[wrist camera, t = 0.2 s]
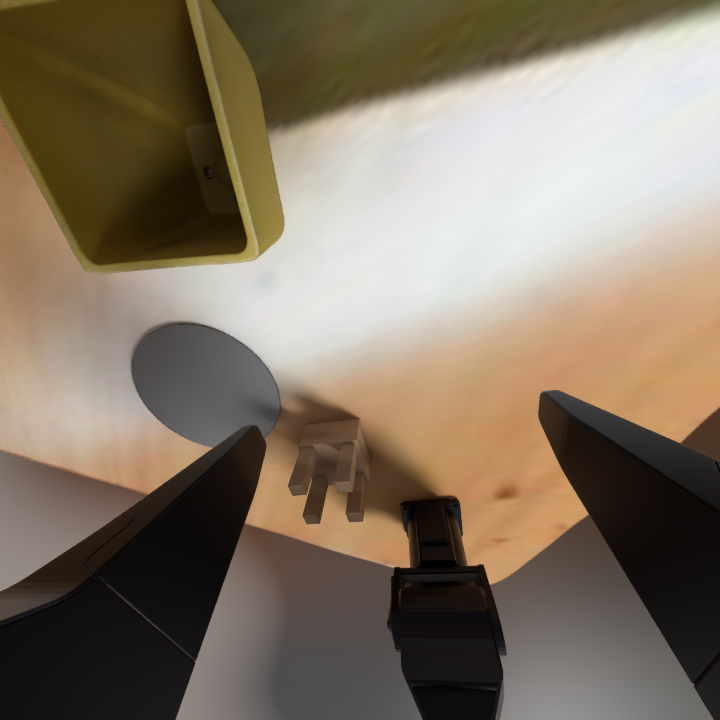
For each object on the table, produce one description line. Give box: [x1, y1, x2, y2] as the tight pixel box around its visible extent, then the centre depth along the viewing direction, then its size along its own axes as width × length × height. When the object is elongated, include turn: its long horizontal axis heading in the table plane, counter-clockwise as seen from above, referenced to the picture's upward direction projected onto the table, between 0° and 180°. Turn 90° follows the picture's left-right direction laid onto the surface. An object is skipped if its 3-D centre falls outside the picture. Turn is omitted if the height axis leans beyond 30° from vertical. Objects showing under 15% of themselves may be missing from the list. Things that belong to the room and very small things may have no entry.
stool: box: [288, 418, 371, 524], centre depth 26 cm, size 6×6×7 cm
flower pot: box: [0, 0, 284, 274], centre depth 15 cm, size 9×9×9 cm
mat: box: [132, 324, 280, 447], centre depth 27 cm, size 14×14×1 cm
